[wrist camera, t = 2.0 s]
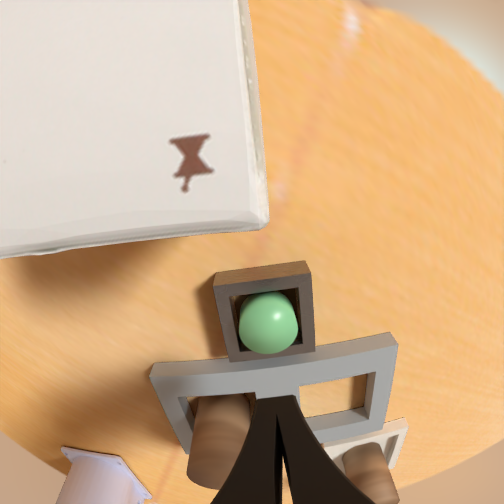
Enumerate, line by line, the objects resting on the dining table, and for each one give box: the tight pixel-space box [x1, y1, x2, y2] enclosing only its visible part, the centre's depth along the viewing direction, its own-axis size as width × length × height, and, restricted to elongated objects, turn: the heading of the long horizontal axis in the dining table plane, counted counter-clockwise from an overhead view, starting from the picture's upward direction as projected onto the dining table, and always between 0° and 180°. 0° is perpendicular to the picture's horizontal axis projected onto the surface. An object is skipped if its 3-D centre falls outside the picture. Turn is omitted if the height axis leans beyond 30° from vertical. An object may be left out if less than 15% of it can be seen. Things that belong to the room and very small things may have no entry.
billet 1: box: [187, 393, 250, 490], centre depth 18 cm, size 4×4×6 cm
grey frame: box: [149, 332, 398, 454], centre depth 20 cm, size 9×16×2 cm, turn 98°
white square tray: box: [322, 417, 409, 476], centre depth 23 cm, size 8×8×1 cm
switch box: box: [213, 261, 316, 363], centre depth 17 cm, size 5×5×2 cm
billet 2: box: [342, 442, 400, 504], centre depth 20 cm, size 4×4×6 cm
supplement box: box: [0, 0, 269, 259], centre depth 9 cm, size 7×7×13 cm
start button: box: [239, 291, 298, 354], centre depth 16 cm, size 3×3×2 cm
